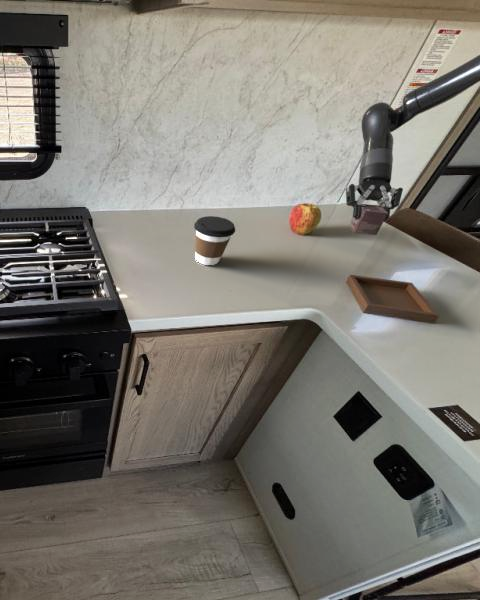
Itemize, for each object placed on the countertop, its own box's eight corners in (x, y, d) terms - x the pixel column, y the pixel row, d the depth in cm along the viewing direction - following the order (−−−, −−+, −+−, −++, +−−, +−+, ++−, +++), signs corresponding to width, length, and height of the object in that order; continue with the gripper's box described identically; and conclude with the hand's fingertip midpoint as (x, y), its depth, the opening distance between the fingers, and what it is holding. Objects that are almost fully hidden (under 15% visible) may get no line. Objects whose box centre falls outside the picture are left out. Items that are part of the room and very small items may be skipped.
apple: (283, 225, 122) (293, 197, 116) (312, 228, 119) (323, 200, 113) (285, 235, 115) (296, 206, 109) (316, 239, 112) (329, 210, 107)
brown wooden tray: (406, 290, 89) (411, 282, 88) (433, 323, 79) (439, 315, 77) (345, 281, 93) (349, 274, 91) (363, 312, 82) (367, 305, 81)
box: (376, 236, 104) (389, 212, 99) (353, 233, 105) (364, 210, 101) (370, 227, 108) (381, 205, 104) (347, 225, 110) (358, 203, 106)
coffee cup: (201, 273, 97) (210, 234, 89) (180, 255, 105) (187, 218, 98) (233, 266, 99) (245, 228, 92) (210, 249, 108) (219, 213, 101)
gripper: (355, 159, 103) (349, 212, 101) (412, 163, 100) (407, 217, 98) (342, 172, 110) (336, 222, 108) (395, 176, 107) (390, 227, 105)
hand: (370, 219), depth 103 cm, fingers closed on box, 6 cm apart
